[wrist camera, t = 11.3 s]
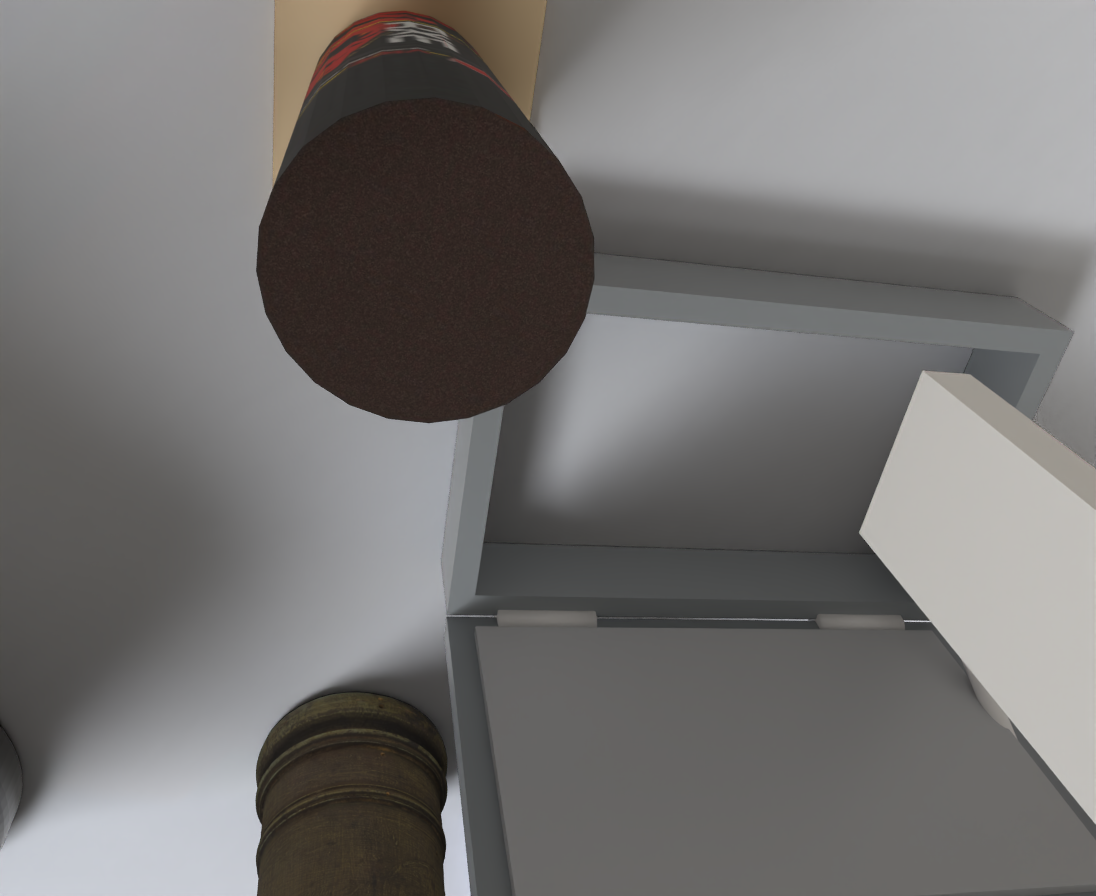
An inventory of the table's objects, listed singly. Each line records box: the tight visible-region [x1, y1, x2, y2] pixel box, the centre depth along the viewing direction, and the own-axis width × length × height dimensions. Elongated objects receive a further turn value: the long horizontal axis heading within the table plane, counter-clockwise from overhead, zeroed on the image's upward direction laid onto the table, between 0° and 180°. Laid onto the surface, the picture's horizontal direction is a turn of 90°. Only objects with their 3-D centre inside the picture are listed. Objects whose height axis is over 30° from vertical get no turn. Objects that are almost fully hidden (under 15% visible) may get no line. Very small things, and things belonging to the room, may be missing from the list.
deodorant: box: [256, 11, 595, 423], centre depth 22 cm, size 6×6×15 cm
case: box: [441, 253, 1096, 896], centre depth 31 cm, size 22×15×18 cm
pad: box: [273, 0, 547, 186], centre depth 29 cm, size 8×8×1 cm
